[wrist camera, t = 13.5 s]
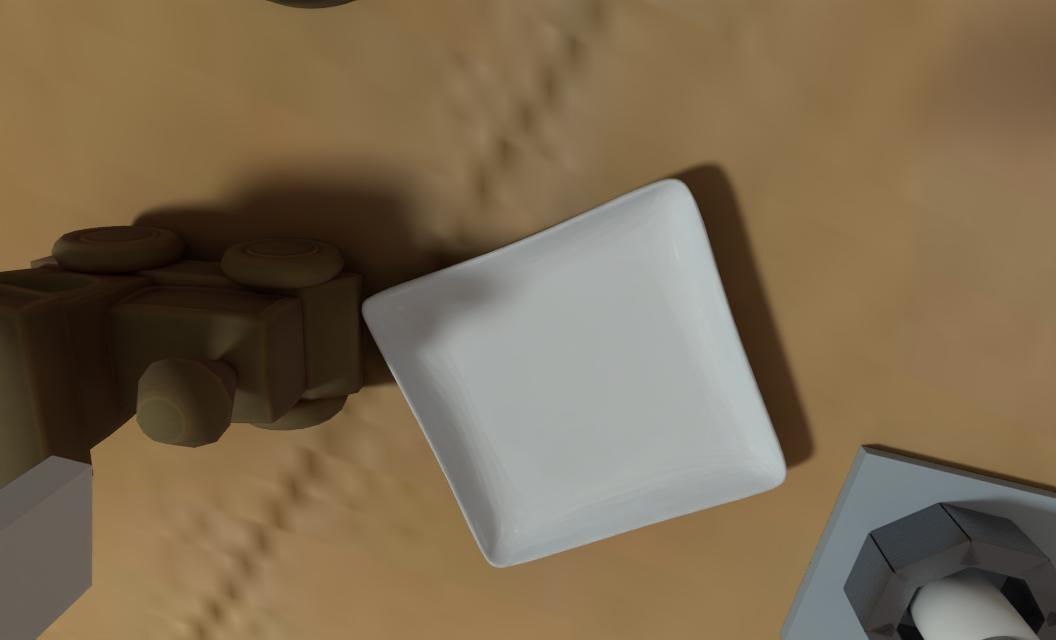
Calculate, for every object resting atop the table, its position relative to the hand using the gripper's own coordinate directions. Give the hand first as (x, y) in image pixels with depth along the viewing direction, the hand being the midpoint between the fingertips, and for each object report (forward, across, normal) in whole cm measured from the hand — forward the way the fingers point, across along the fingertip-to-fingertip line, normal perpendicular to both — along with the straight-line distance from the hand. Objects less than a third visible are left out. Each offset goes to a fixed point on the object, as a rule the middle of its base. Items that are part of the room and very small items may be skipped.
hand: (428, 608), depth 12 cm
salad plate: (+32, +4, -8) cm, 34 cm away
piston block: (+32, +31, -16) cm, 47 cm away
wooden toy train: (+32, -20, -9) cm, 39 cm away
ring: (+31, +31, -16) cm, 46 cm away
